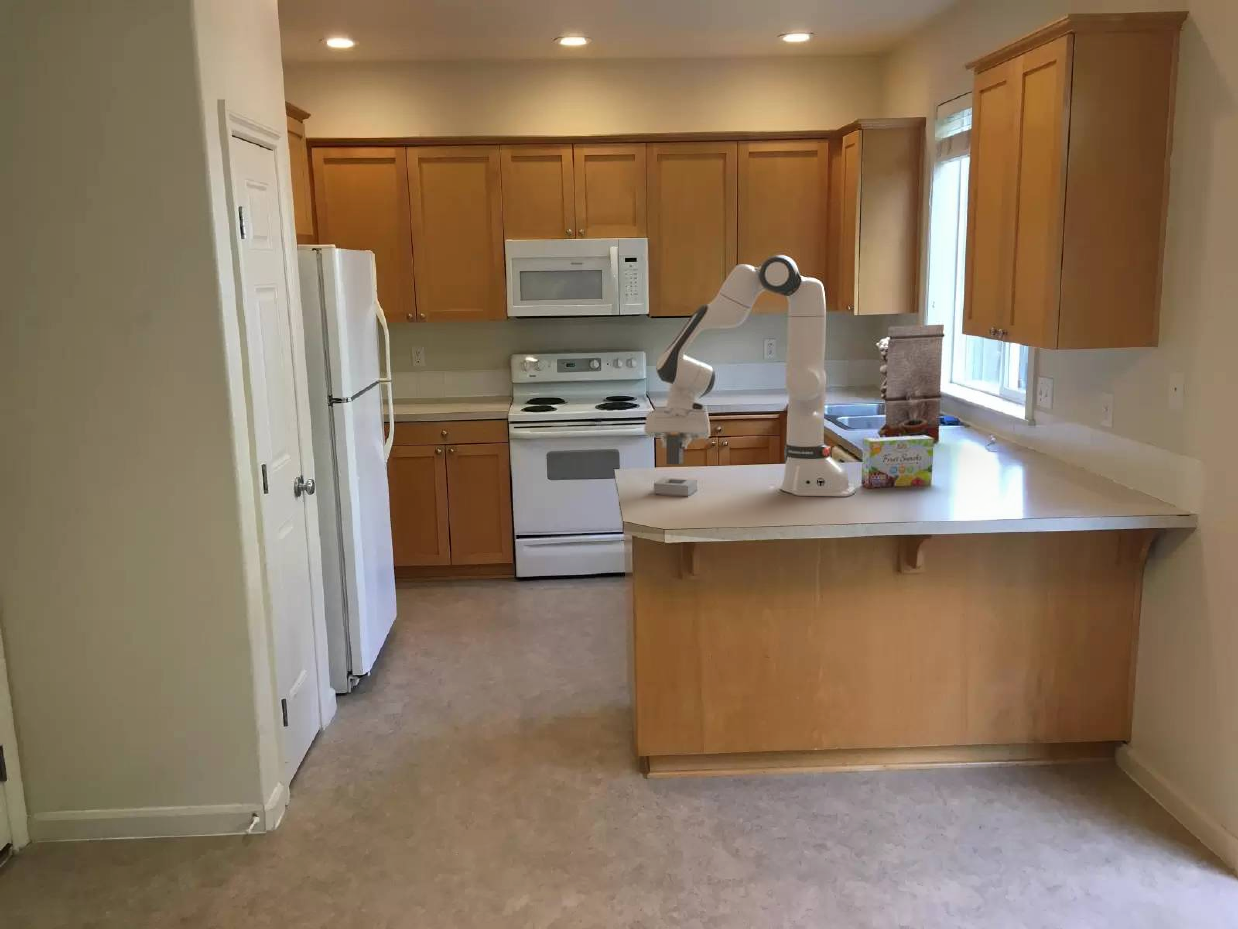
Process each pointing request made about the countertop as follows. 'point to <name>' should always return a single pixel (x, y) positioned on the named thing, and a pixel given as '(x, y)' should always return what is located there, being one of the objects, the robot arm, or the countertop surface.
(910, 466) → the snack box
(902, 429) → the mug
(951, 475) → the countertop surface
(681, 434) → the plug
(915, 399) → the cherub statue
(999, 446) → the countertop surface
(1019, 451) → the countertop surface
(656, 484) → the socket plate
